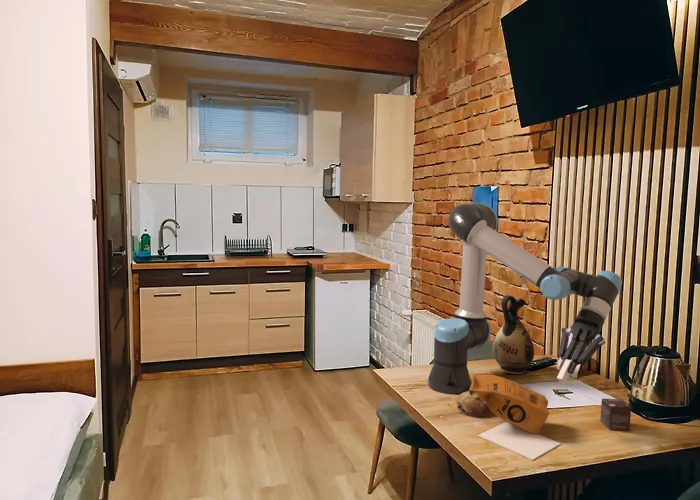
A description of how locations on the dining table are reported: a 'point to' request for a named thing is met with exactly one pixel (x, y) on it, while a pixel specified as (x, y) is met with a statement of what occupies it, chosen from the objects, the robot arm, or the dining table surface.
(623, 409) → the box
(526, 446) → the mat
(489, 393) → the coffee package
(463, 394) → the bread roll
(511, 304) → the ceramic jug
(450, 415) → the dining table surface
